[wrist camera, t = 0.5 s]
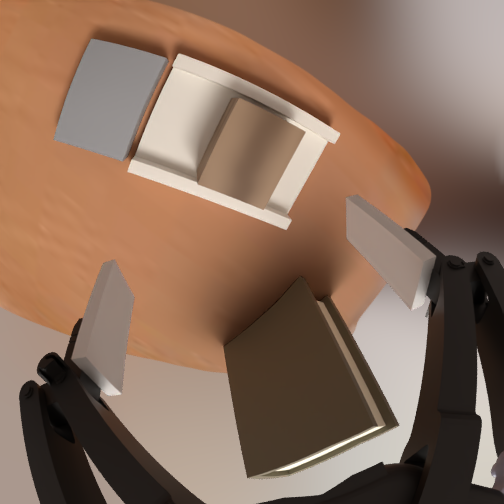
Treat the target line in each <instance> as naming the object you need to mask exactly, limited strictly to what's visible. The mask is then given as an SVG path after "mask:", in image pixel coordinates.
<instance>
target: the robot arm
mask: <svg viewBox="0 0 504 504" xmlns="http://www.w3.org/2000/svg"><path fill="white" fill-rule="evenodd" d="M346 227H347V240H348V241H349V242H350V243H351V244H352V245H353V246H354V247H355V248H356V249H357V250H358V251H359V252H360V253H361V255H362V256H363V257H364V258H365V259H366V260H367V261H368V262H369V263H370V264H371V265H372V266H373V268H374V269H375V270H376V271H377V272H378V273H379V274H380V275H381V276H382V278H383V279H384V280H385V281H386V282H387V283H388V284H389V285H390V287H392V289H393V290H394V291H395V292H396V293H397V295H398V296H399V297H400V298H401V299H402V300H403V302H404V303H405V304H406V305H407V306H408V307H409V309H410V310H414V309H416V308H418V307H420V306H422V305H423V304H424V300H425V297H426V295H427V296H428V297H429V298H430V300H431V301H430V304H429V307H428V310H427V313H426V316H425V317H427V316H428V314H429V318H428V319H429V320H428V334H427V345H426V346H427V347H426V355H425V364H424V371H423V378H422V384H421V390H420V396H419V402H418V406H417V411H416V416H415V420H414V424H413V429H412V433H411V437H410V439H409V441H408V443H407V445H406V447H405V449H404V452H403V454H402V457H401V460H400V463H394V464H386V465H384V464H383V462H380V463H378V464H376V465H374V466H372V467H370V468H368V469H366V470H363V471H361V472H359V473H356V474H354V475H352V476H350V477H349V478H347V479H346V480H344V481H343V482H341V483H340V484H338V485H337V486H335V487H334V488H332V489H331V490H329V491H327V492H326V493H324V494H321V495H316V496H305V497H289V498H281V499H277V500H273V501H268V502H263V503H259V504H504V269H503V267H502V265H501V264H500V262H499V260H498V259H497V258H496V257H495V256H494V255H493V254H491V253H489V252H480V253H478V254H477V258H476V261H475V262H468V263H466V262H465V261H464V260H462V259H461V258H459V257H456V256H452V255H449V256H445V255H443V254H442V253H441V252H440V251H439V250H438V249H436V248H435V247H434V246H433V245H431V244H430V243H429V242H427V240H425V239H424V238H422V236H420V235H419V234H418V233H417V232H415V231H413V230H410V229H408V228H404V229H403V228H402V227H400V226H399V225H398V224H397V223H395V222H394V221H393V220H391V219H390V218H389V217H387V216H386V215H385V214H383V213H382V212H381V211H379V210H378V209H377V208H375V207H374V206H373V205H371V204H370V203H368V202H367V201H366V200H364V199H363V198H361V197H360V196H359V195H353V196H349V197H346ZM487 296H488V299H487ZM134 298H135V297H134V295H133V293H132V292H131V290H130V288H129V286H128V284H127V282H126V280H125V279H124V277H123V275H122V273H121V271H120V269H119V267H118V265H117V263H116V261H115V259H114V260H111V261H108V262H105V263H103V265H102V267H101V270H100V272H99V275H98V277H97V280H96V283H95V285H94V288H93V291H92V293H91V296H90V299H89V302H88V305H87V308H86V311H85V314H84V317H83V318H80V319H79V320H78V321H77V323H76V324H75V326H74V328H73V331H72V334H71V336H72V337H70V341H69V344H68V347H67V351H66V354H65V358H64V361H63V360H62V359H61V357H60V356H59V355H58V354H57V353H55V352H51V353H48V354H46V355H45V356H44V357H43V358H42V359H41V360H40V362H39V364H38V367H37V373H38V375H39V376H40V377H41V378H42V379H43V380H44V381H45V382H47V383H46V384H43V385H41V386H39V385H38V384H37V383H36V382H35V381H32V380H30V381H28V382H26V383H25V384H24V385H23V386H22V388H21V390H20V395H19V400H20V412H21V421H22V428H23V435H24V441H25V446H26V451H27V456H28V461H29V466H30V470H31V474H32V477H33V481H34V485H35V488H36V492H37V495H38V498H39V501H40V504H107V503H106V501H105V499H104V497H103V495H102V493H101V490H100V488H99V486H98V484H97V482H96V479H95V477H94V475H93V472H92V470H91V468H90V465H89V462H88V460H87V457H86V455H85V452H84V450H85V451H86V453H87V454H88V456H89V457H90V459H91V460H92V462H93V463H94V464H95V466H96V467H97V469H98V470H99V471H100V473H101V474H102V475H103V477H104V478H105V480H106V481H107V482H108V484H109V485H110V486H111V487H112V488H113V490H114V491H115V492H116V494H117V495H118V496H119V497H120V498H121V500H122V501H123V502H124V503H125V504H205V503H204V502H203V501H201V500H200V499H199V498H197V497H196V496H195V495H194V494H192V493H191V492H190V491H189V490H188V489H186V488H185V487H184V486H183V485H182V484H181V483H180V482H178V481H177V480H176V479H175V478H174V477H173V476H172V475H171V474H170V473H169V472H167V471H166V470H165V469H164V468H163V467H162V466H161V465H160V464H159V463H158V462H157V461H156V460H155V459H154V458H153V457H152V456H151V455H150V454H149V453H148V452H147V451H146V450H145V449H144V447H143V446H142V445H141V444H140V443H139V442H138V441H137V440H136V439H135V438H134V437H133V435H132V434H131V433H130V432H129V431H128V430H127V428H126V427H125V426H124V425H123V424H122V422H121V421H120V420H119V419H118V418H117V417H116V415H115V414H114V413H113V411H112V410H111V409H110V408H109V406H108V405H107V404H106V402H105V401H104V400H103V399H102V398H101V397H100V390H102V391H103V392H104V393H106V395H108V396H111V395H121V394H122V387H123V376H124V366H125V357H126V349H127V342H128V334H129V328H130V321H131V315H132V309H133V303H134ZM488 300H489V301H488ZM477 349H478V353H479V356H480V360H481V365H482V369H483V373H484V378H485V383H486V388H487V394H488V399H489V406H490V413H491V421H492V429H493V438H494V444H495V449H496V453H497V457H498V459H497V461H496V463H495V464H494V465H493V467H492V469H491V474H492V476H493V477H496V479H495V483H494V485H493V488H488V487H484V486H479V485H475V484H472V483H471V482H472V478H473V473H474V470H475V465H476V460H477V455H478V449H479V442H480V435H481V427H482V420H481V417H480V416H479V415H477V414H476V412H475V406H476V392H477ZM83 448H84V449H83Z"/></svg>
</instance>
